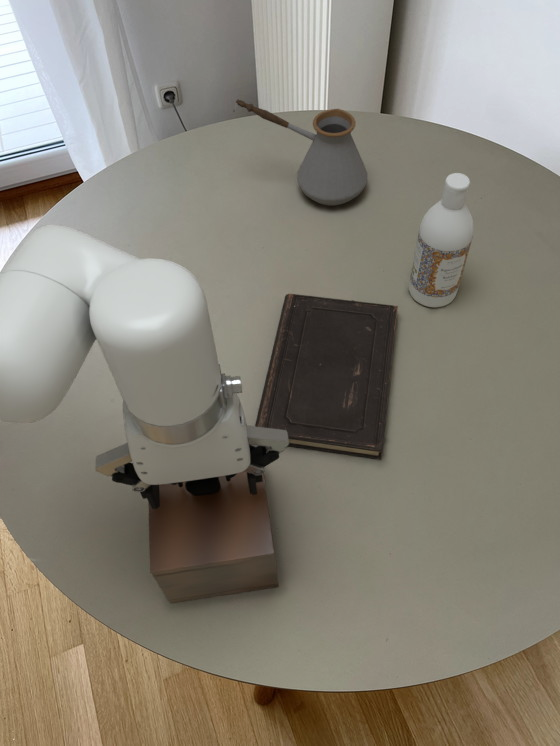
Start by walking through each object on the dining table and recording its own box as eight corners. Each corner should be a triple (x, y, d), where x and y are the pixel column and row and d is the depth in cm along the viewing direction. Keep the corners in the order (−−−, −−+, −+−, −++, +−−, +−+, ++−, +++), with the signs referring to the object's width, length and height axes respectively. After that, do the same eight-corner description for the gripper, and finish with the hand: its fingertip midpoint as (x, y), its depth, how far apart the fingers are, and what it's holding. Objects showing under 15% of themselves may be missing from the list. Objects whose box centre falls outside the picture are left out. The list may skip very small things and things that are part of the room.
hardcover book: (395, 316, 92) (397, 305, 91) (380, 459, 80) (382, 451, 78) (285, 303, 95) (284, 292, 93) (253, 441, 82) (252, 432, 80)
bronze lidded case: (170, 603, 71) (149, 572, 62) (165, 486, 79) (146, 443, 70) (278, 587, 72) (274, 553, 62) (263, 472, 79) (257, 428, 70)
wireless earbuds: (239, 479, 67) (234, 457, 63) (241, 502, 66) (236, 480, 61) (171, 487, 67) (162, 465, 63) (172, 510, 65) (162, 489, 61)
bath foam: (419, 314, 92) (443, 205, 76) (400, 279, 96) (420, 168, 80) (464, 302, 93) (497, 192, 77) (444, 269, 97) (472, 157, 81)
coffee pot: (371, 171, 110) (378, 90, 98) (360, 217, 104) (367, 137, 92) (249, 158, 114) (241, 77, 101) (232, 202, 107) (222, 121, 95)
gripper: (279, 343, 53) (284, 443, 67) (66, 371, 52) (117, 466, 66) (292, 422, 49) (295, 510, 63) (61, 454, 48) (117, 536, 62)
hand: (204, 488), depth 65 cm, fingers open, 9 cm apart
